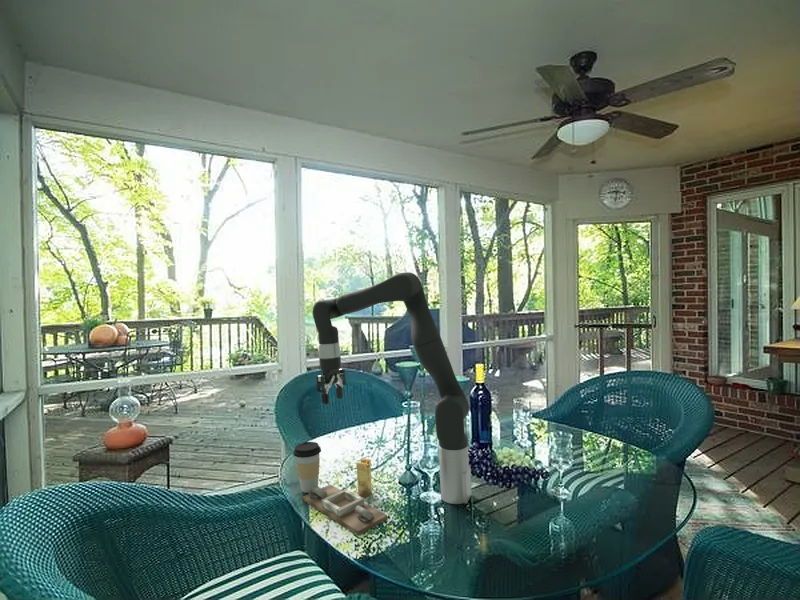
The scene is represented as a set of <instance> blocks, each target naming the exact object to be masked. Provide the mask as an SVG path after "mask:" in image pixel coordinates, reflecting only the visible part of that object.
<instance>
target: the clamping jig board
mask: <svg viewBox="0 0 800 600" xmlns="http://www.w3.org/2000/svg"><path fill="white" fill-rule="evenodd" d="M303 500H304V501H303ZM302 501H303V502H305V503H306V502H307V503H306V504H308V505H310V506H311V507H313V508H314V509H316V510H318V511H319V512H320V513H322V514H324V515H326V516H327V517H329V518H330V519H332V520H334V521H335V522H337V523H338V524H340V525H342V526H343V527H345V528H346V529H348V530H349V531H351V532H353V533H354V534H356V535H357V536H360V535H361V534H363V533H366V532H367V531H369V530H370V529H372V528H374V527H376V526H378V525H379V524H381V523H383V522H384V521H387V520H388V514H386V513H384V512H383V511H380V510H379V509H377V508H374V507H373V506H371V505H370V504H367V503H366V502H365V497H360V496H359V495H358V494H356V493H354V492H353V491H351V490H348V489H347V488H344V489H342V490H341V489H339V488H337V487H336V486H334V485H332V484H329V485H326V486H324V487H321V488H320V487H319V486H318V487H316V486H313V487H312V492H309V493H307V494H306V495H303V496H302Z"/></svg>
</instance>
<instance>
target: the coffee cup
mask: <svg viewBox="0 0 800 600" xmlns="http://www.w3.org/2000/svg"><path fill="white" fill-rule="evenodd" d="M292 451H293V452H292V455H293V456H294V458H295V464H296V465H295V466H296V472H297V477H298V481H299V487H300V491H301V490H302V491H303V492H302V491H301V492H302V493H307V494H309V493H312V487H313V486H316V487H318V488H319V476H320V453H321V452H322V449H321V446H320V444H319V443H318V442H317V441H316V442H315V441H304V442H300V443H298V444H296V445H295V446H294V449H293V450H292Z"/></svg>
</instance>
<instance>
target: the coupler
mask: <svg viewBox="0 0 800 600" xmlns="http://www.w3.org/2000/svg"><path fill="white" fill-rule="evenodd" d="M371 463H372V462H371V459H369V458H361V459H360V462H359V461H357V462H356V463H355V464H356V466H355V467H356V479H357V495H358V496H360V497H362V498H367V497H370V496H372V494H373V489H372V488H373V487H372V483H373V482H372V467H371V465H372V464H371Z"/></svg>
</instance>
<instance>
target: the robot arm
mask: <svg viewBox="0 0 800 600" xmlns="http://www.w3.org/2000/svg"><path fill="white" fill-rule="evenodd" d="M391 302H402V303H403V304H404V306H405V308H406V310H407V313H408V316H409V321H410V334H411V342H412V345H413V348H414V351H415V353H416V356H417V358H418V360H419V363H420V365H422V367H423V369H424V370H425V371H426V372H427V373H428V374H429V376H430V377H431V378H432V379H433V382H434V384H435V386H436V388H437V391H438V393H439V398H440V400H439V401H438V402H437V403H436V404H435V405H436V406H435V410H434V420H435V422H434V423H435V434H436V438H437V440H438V454H439V455H438V456H439V460H438V461H439V482H440V498H441V500H442V501H443V502H445V503H446V504H447V503H448V504H451V505H452V504H453V505H460V504H468V502H469V501H470V498H471V497H472V473H471V472H472V470H471V469H472V468H471V466H470V465H469V439H468V436H467V434H466V433H465V419H466V417H467V416H468V414H469V411H470V405H469V404H470V403H469V401H468V399H467V397H466V394H465V393H464V391H463V389H462V387H461V385H460V383H459V381H458V379H457V377H456V374H455V372H454V369H453V366H452V364H451V362H450V358H449V355H448V353H447V350H446V347H445V344H444V342H443V340H442V338H441V334H440V332H439V331H438V328H437V325H436V323H435V320H434V318H433V316H432V313H431V309H430V308H429V305H428V302H427V298H426V294H425V291H424V287H423V284H422V281H421V279H420V278H419V277H418V276H417V275H416V274H415V273H413V272H408V271H407V272H398V273H396V274H394V275H392V276H390V277H388V278H387V279H385V280H382V281H381V282H379V283H376V284H374V285H371V286H367V287H364V288H360V289H357V290H353V291H351V292H350V291H349V292H347V293H344V294H340V295H339V296H338V297H335V298H330V299H323V300H322V299H321V300H318V301H316V302H315V303H314V304H313V307H312V318H313V321H314V323H315V327H316V330H317V333H318V356H319V358H318V359H319V370H320V371H322V375H317V376H316V393H317V394H321V402H322V403H321V404H322V405H329V404H330V397H329V391H330V388H332V386H333V385H334V386H335V387H336V388H335V391H336V399H343V397H344V395H343V394H344V392H343V388H344V386H345V385H347V382H346V381H347V378H346V370H345V368H342V361H341V360H342V358H341V347H340V341H339V339H340V338H339V330H338V328H337V326H333V322H332V321H331V320H333V319H337V318H340V317H342V316H345V315H349V314H352V313H356V312H359V311H363V310H366V309H369V308H370V307H372V306H375V305H378V304H384V303H391Z"/></svg>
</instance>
